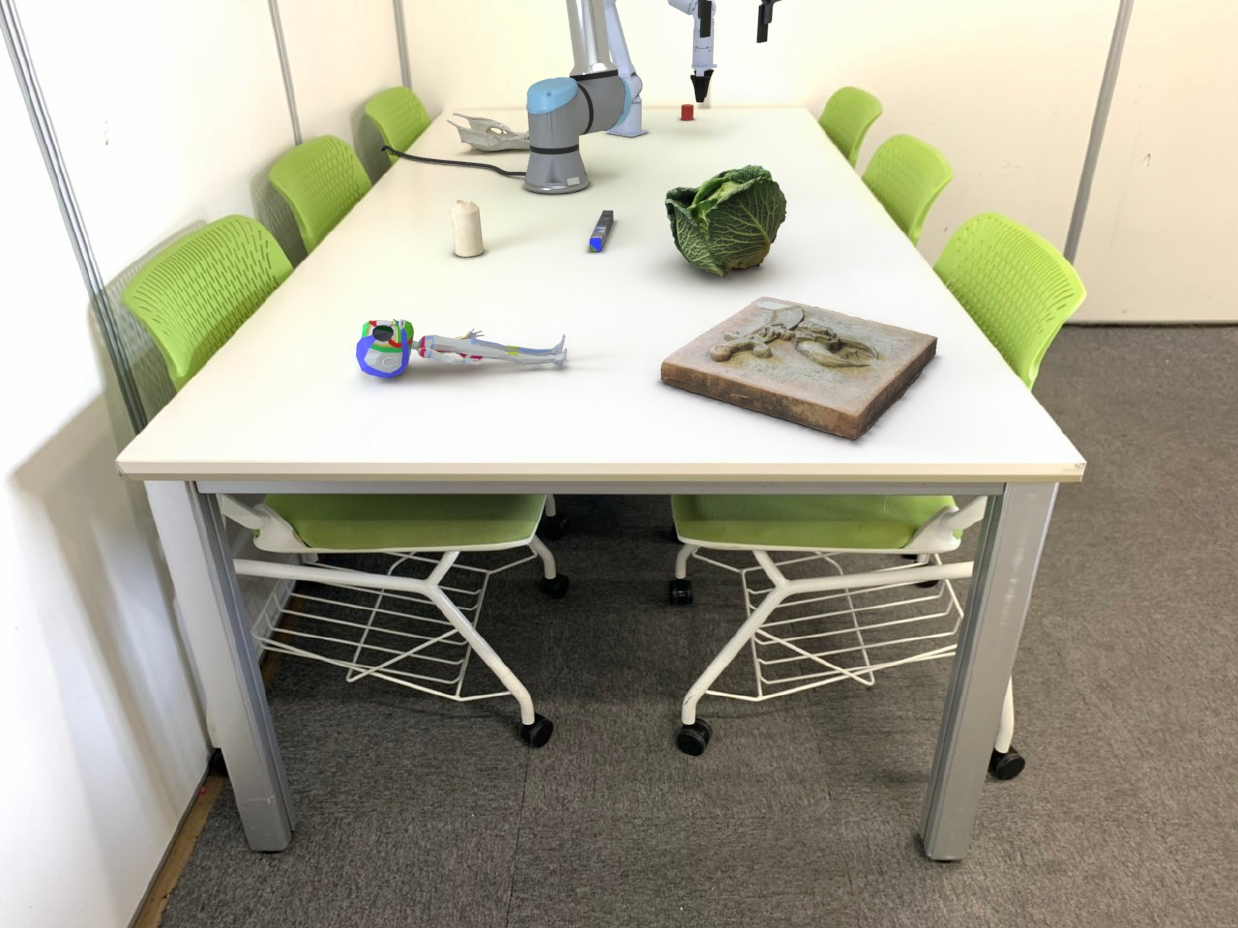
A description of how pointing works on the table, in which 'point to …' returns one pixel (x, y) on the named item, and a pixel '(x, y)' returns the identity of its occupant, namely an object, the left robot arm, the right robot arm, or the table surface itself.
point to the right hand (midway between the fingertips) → (701, 100)
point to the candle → (466, 228)
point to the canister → (687, 112)
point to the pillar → (601, 230)
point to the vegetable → (727, 219)
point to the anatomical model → (490, 135)
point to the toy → (435, 349)
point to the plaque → (803, 364)
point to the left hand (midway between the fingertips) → (732, 40)
